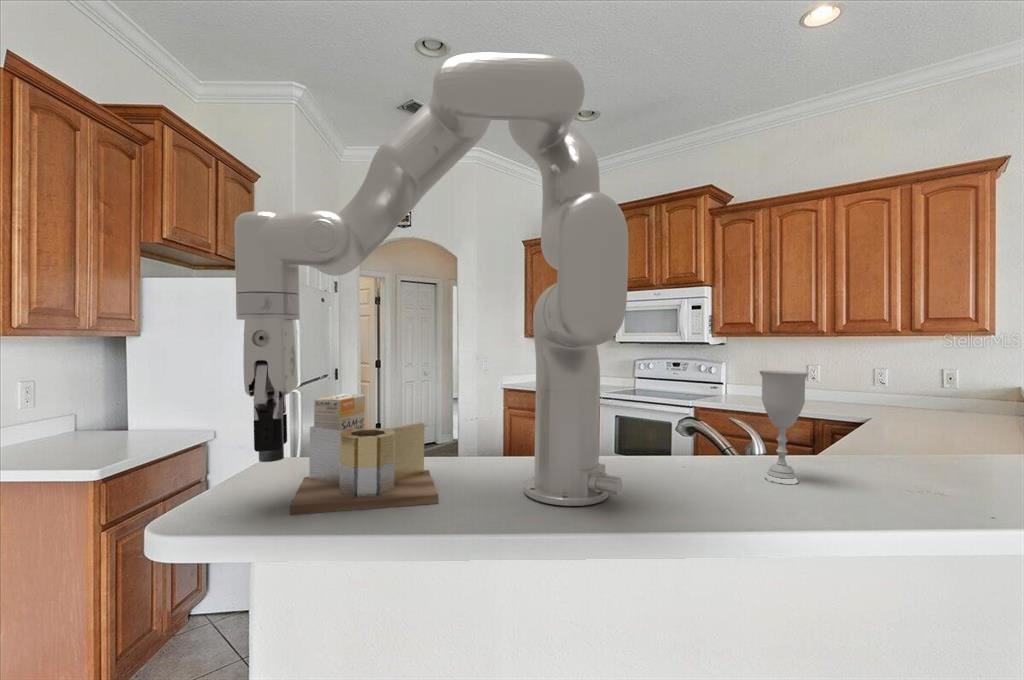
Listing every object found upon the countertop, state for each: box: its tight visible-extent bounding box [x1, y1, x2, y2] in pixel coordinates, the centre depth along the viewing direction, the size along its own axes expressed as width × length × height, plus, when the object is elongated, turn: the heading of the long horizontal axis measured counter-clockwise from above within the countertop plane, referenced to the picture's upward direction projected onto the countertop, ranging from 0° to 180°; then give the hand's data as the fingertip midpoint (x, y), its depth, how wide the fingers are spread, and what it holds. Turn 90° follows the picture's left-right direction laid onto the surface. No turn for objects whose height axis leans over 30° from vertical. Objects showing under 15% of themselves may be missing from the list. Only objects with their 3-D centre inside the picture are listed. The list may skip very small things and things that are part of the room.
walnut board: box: [289, 469, 439, 516], centre depth 72 cm, size 13×19×1 cm
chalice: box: [758, 370, 810, 479], centre depth 82 cm, size 7×7×18 cm
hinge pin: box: [253, 381, 285, 463], centre depth 66 cm, size 4×4×10 cm
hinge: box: [308, 422, 425, 498], centre depth 73 cm, size 11×17×8 cm, turn 105°
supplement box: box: [313, 393, 366, 430], centre depth 82 cm, size 8×5×13 cm, turn 168°
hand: (271, 445), depth 66 cm, fingers closed on hinge pin, 3 cm apart
